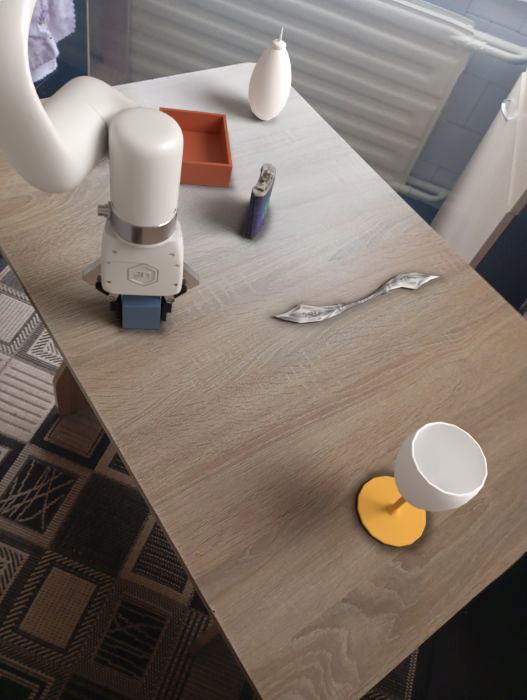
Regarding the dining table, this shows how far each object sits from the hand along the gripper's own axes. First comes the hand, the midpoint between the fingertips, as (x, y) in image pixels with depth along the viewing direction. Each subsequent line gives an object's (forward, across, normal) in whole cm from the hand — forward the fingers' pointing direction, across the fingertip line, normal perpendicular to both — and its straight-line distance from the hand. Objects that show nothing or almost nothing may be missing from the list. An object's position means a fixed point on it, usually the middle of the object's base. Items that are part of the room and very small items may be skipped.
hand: (141, 311), depth 80 cm
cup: (+1, +31, -30) cm, 43 cm away
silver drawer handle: (+1, +35, +5) cm, 35 cm away
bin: (+1, +9, +37) cm, 38 cm away
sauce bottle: (+1, +24, +52) cm, 57 cm away
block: (+1, 0, 0) cm, 1 cm away
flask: (+1, +19, +21) cm, 28 cm away
